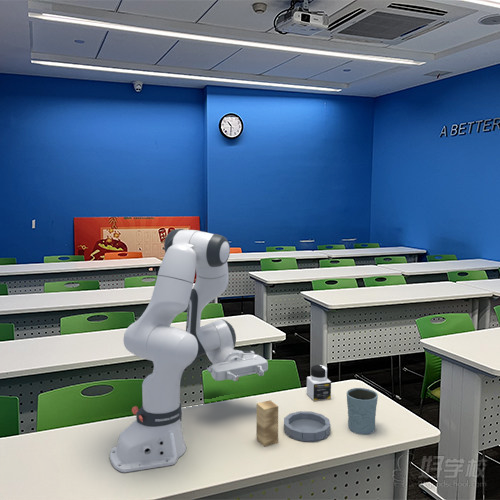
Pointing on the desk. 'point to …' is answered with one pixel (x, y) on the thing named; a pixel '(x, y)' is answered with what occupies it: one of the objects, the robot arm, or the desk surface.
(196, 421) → the desk surface
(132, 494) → the desk surface
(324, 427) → the bowl
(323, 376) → the medicine bottle
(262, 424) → the oak block
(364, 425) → the blue-grey cup
